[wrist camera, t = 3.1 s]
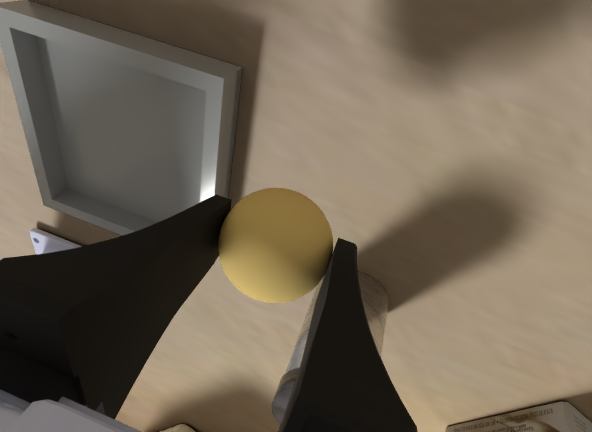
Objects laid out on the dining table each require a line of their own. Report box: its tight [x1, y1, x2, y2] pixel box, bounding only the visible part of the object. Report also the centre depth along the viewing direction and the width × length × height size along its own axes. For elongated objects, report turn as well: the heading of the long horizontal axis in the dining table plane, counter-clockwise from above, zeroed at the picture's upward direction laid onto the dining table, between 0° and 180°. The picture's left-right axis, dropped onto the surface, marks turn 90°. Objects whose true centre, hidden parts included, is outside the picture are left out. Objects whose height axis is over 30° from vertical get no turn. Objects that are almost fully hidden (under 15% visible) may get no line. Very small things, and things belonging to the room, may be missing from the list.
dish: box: [0, 0, 243, 236], centre depth 21 cm, size 12×12×2 cm
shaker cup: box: [272, 272, 388, 424], centre depth 21 cm, size 5×5×8 cm
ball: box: [218, 188, 333, 303], centre depth 13 cm, size 4×4×4 cm
